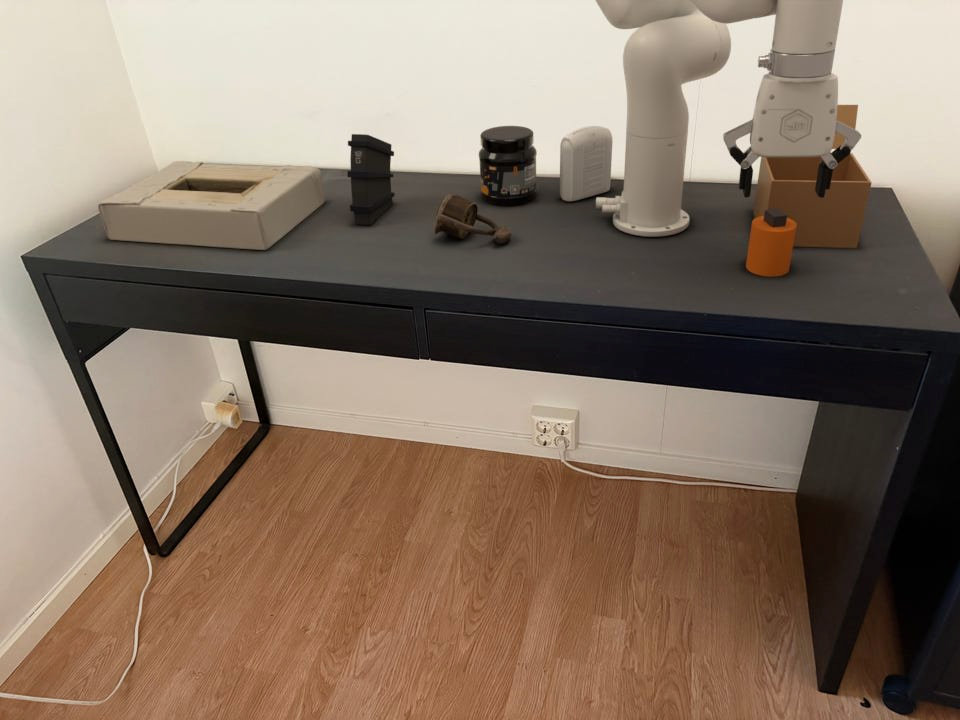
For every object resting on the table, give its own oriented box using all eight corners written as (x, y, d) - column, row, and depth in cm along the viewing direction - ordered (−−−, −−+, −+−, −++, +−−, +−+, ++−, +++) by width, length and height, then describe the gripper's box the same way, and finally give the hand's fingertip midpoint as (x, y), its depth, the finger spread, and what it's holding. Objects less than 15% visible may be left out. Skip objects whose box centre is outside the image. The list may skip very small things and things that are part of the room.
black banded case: (343, 223, 133) (348, 133, 131) (375, 227, 145) (379, 146, 144) (363, 224, 132) (368, 134, 130) (393, 228, 144) (398, 146, 142)
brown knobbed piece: (467, 189, 133) (422, 192, 126) (521, 198, 124) (476, 202, 118) (465, 231, 135) (421, 236, 129) (518, 243, 127) (474, 249, 120)
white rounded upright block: (598, 185, 147) (600, 119, 140) (613, 191, 144) (616, 124, 137) (556, 198, 142) (556, 130, 136) (570, 204, 139) (571, 136, 133)
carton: (762, 245, 120) (771, 180, 115) (753, 212, 132) (761, 152, 126) (856, 248, 118) (871, 182, 112) (839, 214, 129) (852, 153, 124)
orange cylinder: (757, 278, 111) (765, 222, 106) (738, 261, 116) (746, 207, 111) (796, 274, 111) (806, 218, 107) (776, 257, 116) (785, 202, 112)
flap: (766, 104, 124) (766, 105, 125) (762, 148, 126) (762, 148, 126) (858, 104, 122) (857, 104, 122) (853, 148, 123) (852, 149, 123)
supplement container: (482, 188, 149) (478, 125, 143) (536, 186, 148) (535, 123, 142) (479, 208, 140) (476, 142, 134) (537, 206, 139) (536, 140, 133)
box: (327, 202, 147) (181, 194, 155) (321, 162, 143) (170, 156, 151) (270, 254, 129) (107, 242, 136) (261, 210, 124) (92, 200, 132)
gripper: (732, 72, 97) (719, 203, 106) (881, 68, 93) (855, 204, 102) (727, 61, 103) (716, 185, 112) (867, 56, 100) (843, 185, 109)
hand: (782, 194), depth 107 cm, fingers open, 9 cm apart
